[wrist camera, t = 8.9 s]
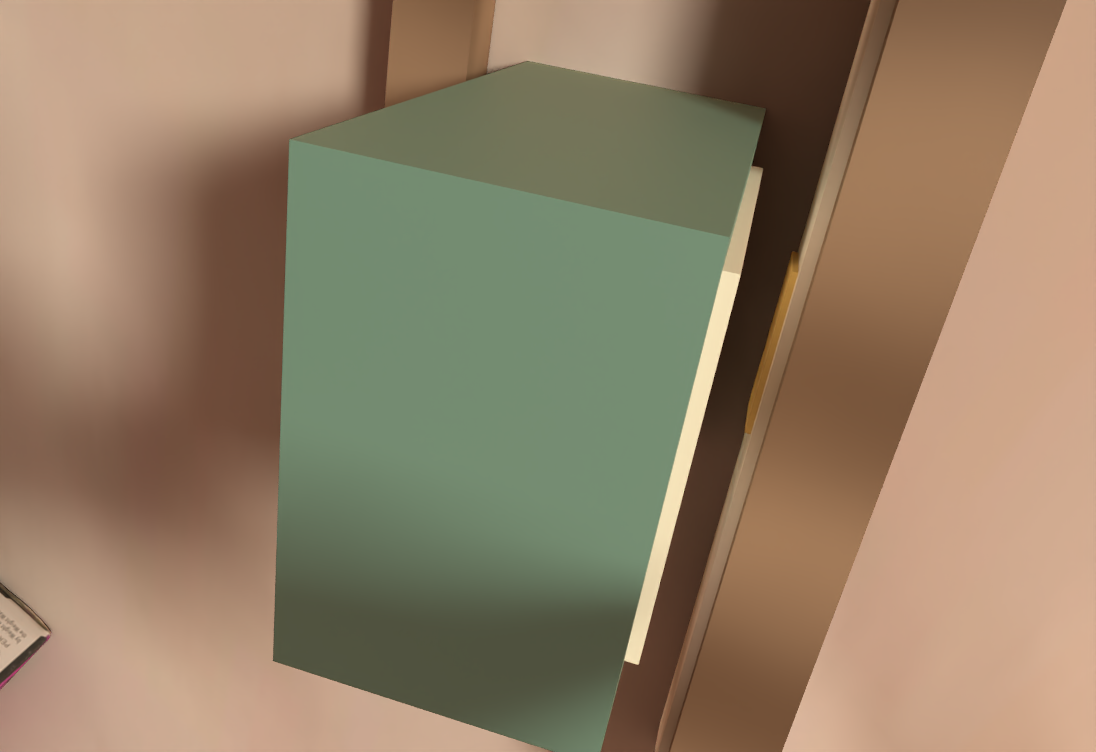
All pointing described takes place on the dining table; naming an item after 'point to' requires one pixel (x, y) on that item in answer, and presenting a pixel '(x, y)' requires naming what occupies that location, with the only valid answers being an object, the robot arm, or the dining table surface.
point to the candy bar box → (18, 634)
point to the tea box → (500, 386)
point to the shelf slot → (821, 329)
